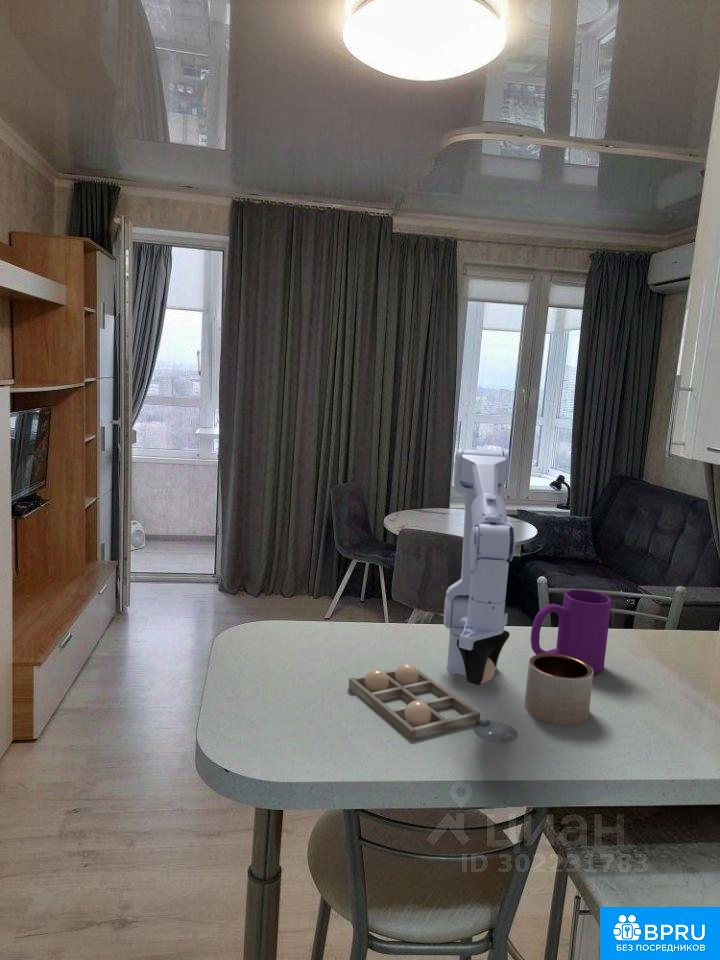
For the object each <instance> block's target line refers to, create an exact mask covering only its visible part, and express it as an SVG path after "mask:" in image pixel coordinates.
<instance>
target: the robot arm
mask: <svg viewBox="0 0 720 960" xmlns="http://www.w3.org/2000/svg"><path fill="white" fill-rule="evenodd" d="M454 455H455V456H454V467H453V469H454V470H453V486H454V492H456V493H459V494H460V495H462V497H463V502H464V520H463V535H462V536H463V537H462V538H463V539H462V555H461V557H462V558H461V572H460V577H461V578H460V579H458V581H455V582H454V583H453V584H451V585H449V586H448V588H447V590H445V591H446V592H445V599H444V605H443V606H444V607H443V625H444V626H445V628H446V629H447V630H448V629H449V637H448V649H447V650H448V651H447V652H448V653H447V663H446V670H447V671H448V672H449V673H450V674H452V675H461V676H465V678H466V682H467V683H469V684H473V685H476V686H480V685H481V684H482V683H481V682H482V679H483V674H484V670H485V665H486V662H487V659H488V657H489V658H490V659H491V660H492V661H493V663H494V666H495V670H498V663H499V657H500V653H501V651H502V649H503V647H504V646H505V644H506V642H507V641H508V639H509V638H510V634H511V633H510V631H508V630H505V627H506V626H507V625H508V616H509V614H508V613H507V612H505V610H506V609H505V607H506V597H507V588H508V587H507V584H508V577H509V576H508V575H509V566H510V562H512V561H513V557H514V553H515V548H516V535H515V534H516V533H515V527H514V525H513V524H512V523H511V522H510V521H508V515H507V514H508V513H507V507H506V502H505V500H504V499H503V498H502V497H501V496H500V495H501V494H502V491H503V490H504V488H505V486H506V483H507V481H508V478H509V476H510V475H509V473H510V455H509V453H508V452H507V451H506V450H487V449H486V450H485V449H484V450H483V449H472V448H471V449H470V448H469V449H467V448H462V447H458V449H457V450H456V451H455V454H454ZM464 596H465V597H464ZM466 596H467V597H466Z"/></svg>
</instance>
